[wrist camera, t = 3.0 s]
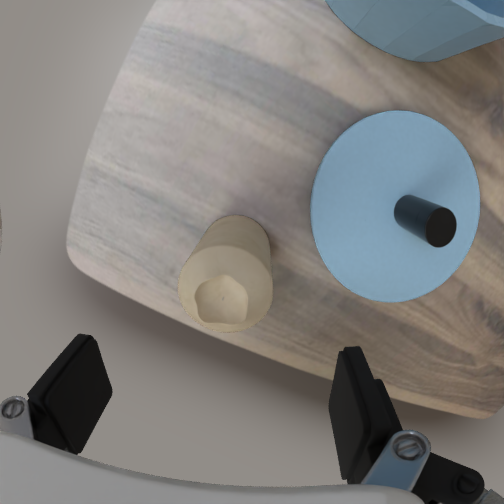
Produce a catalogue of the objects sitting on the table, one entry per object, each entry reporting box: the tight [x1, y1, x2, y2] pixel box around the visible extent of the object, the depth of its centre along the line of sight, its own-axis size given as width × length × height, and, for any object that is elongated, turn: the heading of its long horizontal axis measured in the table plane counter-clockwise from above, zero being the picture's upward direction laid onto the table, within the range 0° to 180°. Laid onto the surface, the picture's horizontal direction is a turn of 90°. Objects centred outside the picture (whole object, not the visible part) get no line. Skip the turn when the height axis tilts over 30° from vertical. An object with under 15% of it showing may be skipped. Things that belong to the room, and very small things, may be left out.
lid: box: [310, 110, 480, 302], centre depth 21 cm, size 17×17×7 cm
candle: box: [178, 215, 273, 333], centre depth 21 cm, size 6×6×10 cm
